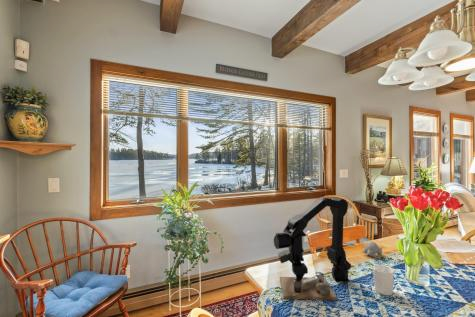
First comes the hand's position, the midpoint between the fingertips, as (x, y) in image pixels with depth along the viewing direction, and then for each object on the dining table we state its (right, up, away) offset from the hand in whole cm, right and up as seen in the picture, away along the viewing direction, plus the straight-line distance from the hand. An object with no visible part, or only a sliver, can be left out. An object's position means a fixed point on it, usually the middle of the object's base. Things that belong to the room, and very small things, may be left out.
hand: (297, 278), depth 108 cm
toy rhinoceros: (+56, -3, +33) cm, 65 cm away
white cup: (+37, -3, -5) cm, 38 cm away
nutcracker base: (+3, -3, -3) cm, 5 cm away
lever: (+5, -1, -4) cm, 6 cm away
